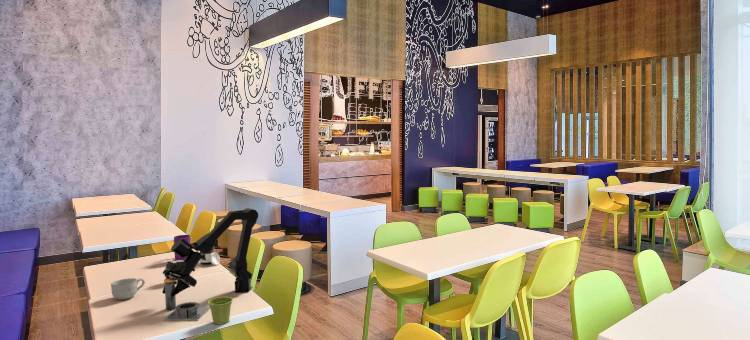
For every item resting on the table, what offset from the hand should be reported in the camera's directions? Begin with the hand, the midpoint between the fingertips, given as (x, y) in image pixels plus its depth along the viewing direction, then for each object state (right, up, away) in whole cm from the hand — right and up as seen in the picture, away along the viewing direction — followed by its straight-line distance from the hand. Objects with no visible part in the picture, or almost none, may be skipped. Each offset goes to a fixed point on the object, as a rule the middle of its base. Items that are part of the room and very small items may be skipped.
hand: (167, 294), depth 202 cm
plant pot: (+27, -7, -13) cm, 31 cm away
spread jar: (-7, -1, +73) cm, 73 cm away
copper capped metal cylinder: (+1, -6, +2) cm, 7 cm away
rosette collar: (+11, -7, -5) cm, 14 cm away
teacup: (-26, -6, +18) cm, 32 cm away
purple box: (-27, -1, +82) cm, 87 cm away
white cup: (-12, -4, +40) cm, 42 cm away
